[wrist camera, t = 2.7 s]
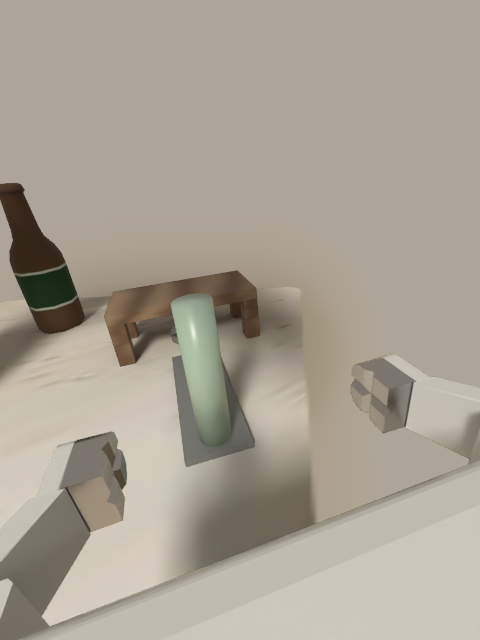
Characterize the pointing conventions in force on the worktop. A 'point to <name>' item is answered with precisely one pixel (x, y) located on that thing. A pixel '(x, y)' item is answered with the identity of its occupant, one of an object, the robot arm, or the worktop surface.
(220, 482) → the worktop surface
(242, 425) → the cylinder
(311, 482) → the worktop surface
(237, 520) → the worktop surface
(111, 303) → the bench
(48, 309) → the beer bottle
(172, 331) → the silver flat disc
